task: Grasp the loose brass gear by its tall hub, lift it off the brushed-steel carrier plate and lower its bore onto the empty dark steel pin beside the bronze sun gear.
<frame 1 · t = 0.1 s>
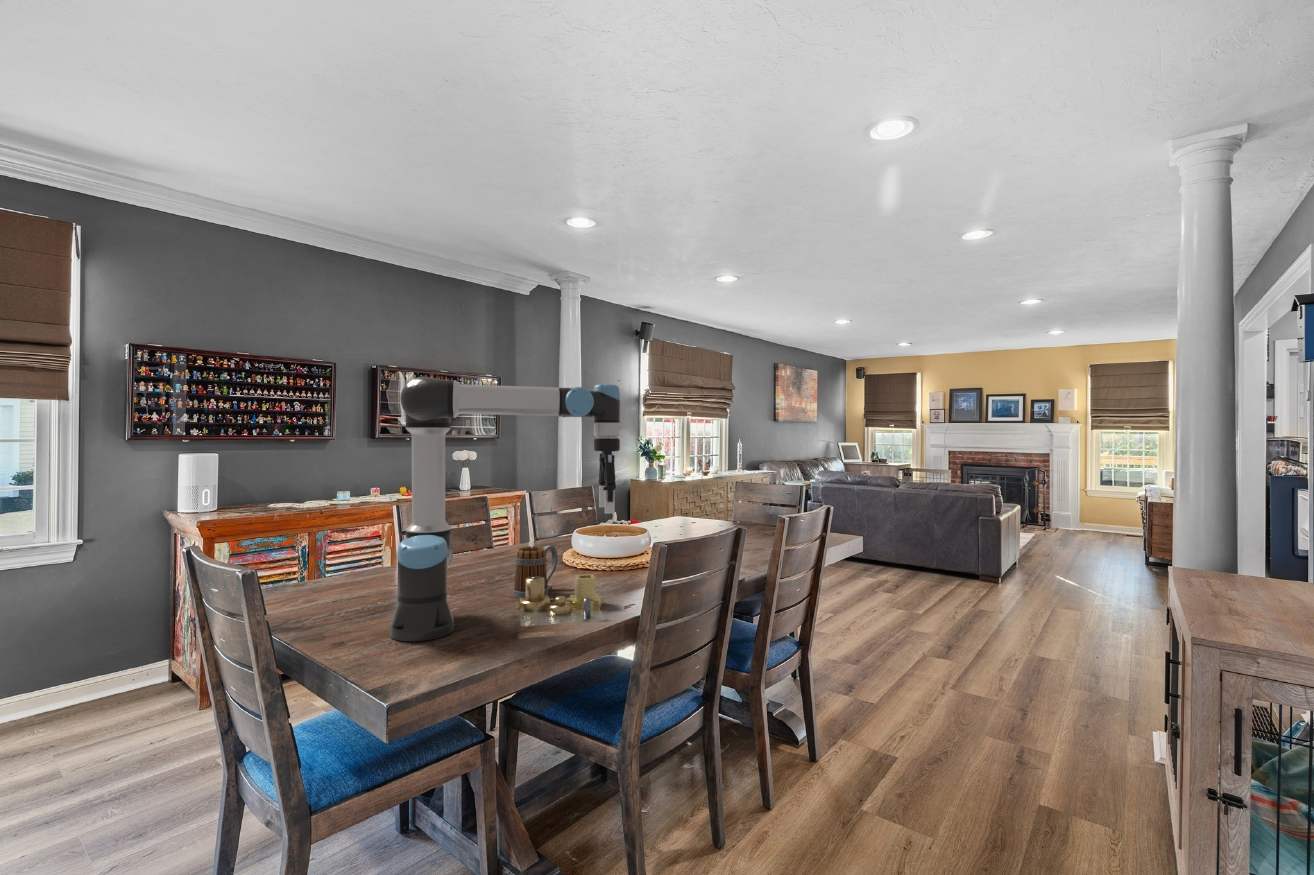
hand: (606, 510, 179), 28 cm above the table, fingers open, 13 cm apart
carrier: (560, 616, 168), on the table
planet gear: (584, 604, 175), point 1 cm above the table, touching carrier
mug: (537, 597, 188), on the table
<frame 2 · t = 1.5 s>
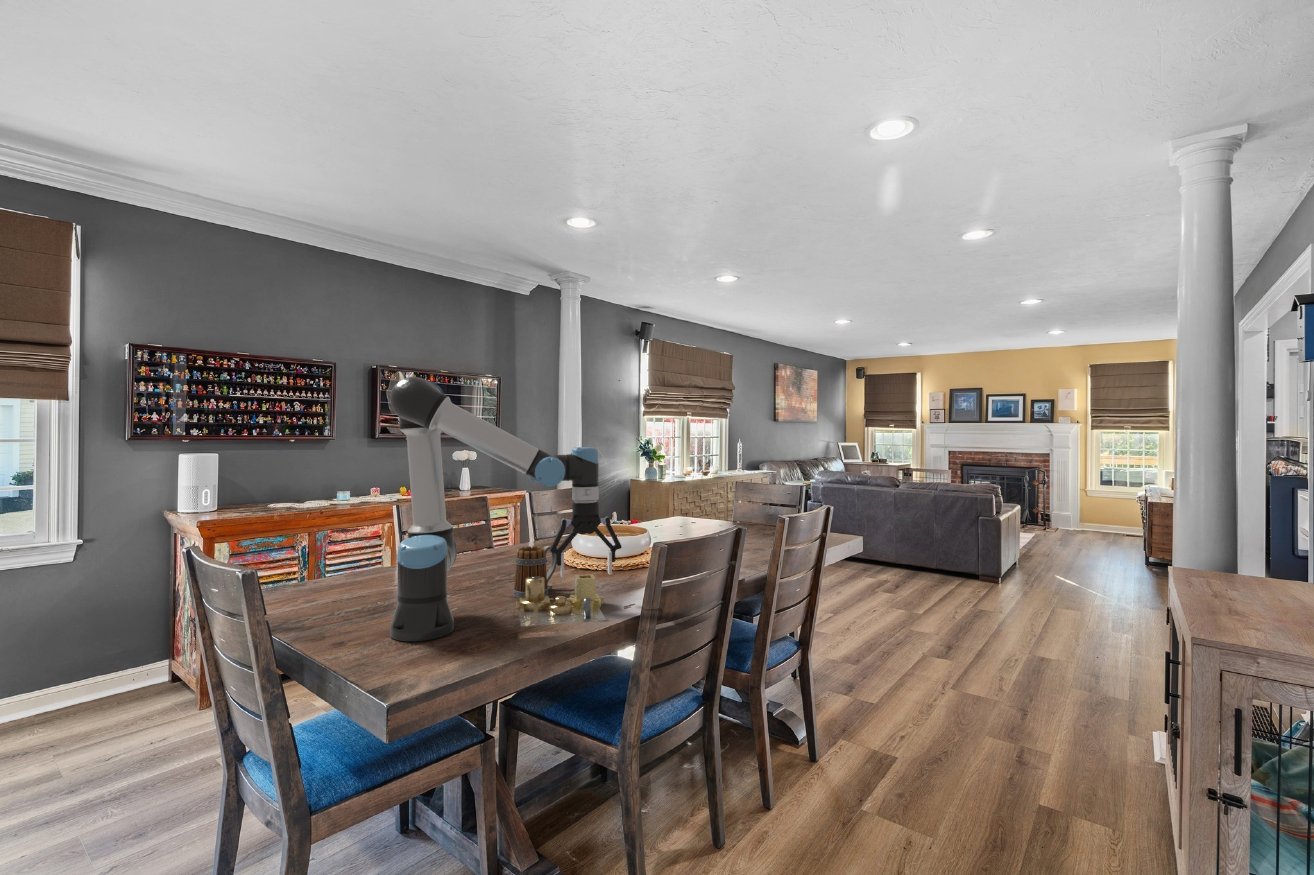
hand: (586, 575, 175), 10 cm above the table, fingers open, 13 cm apart
nothing on the table moved.
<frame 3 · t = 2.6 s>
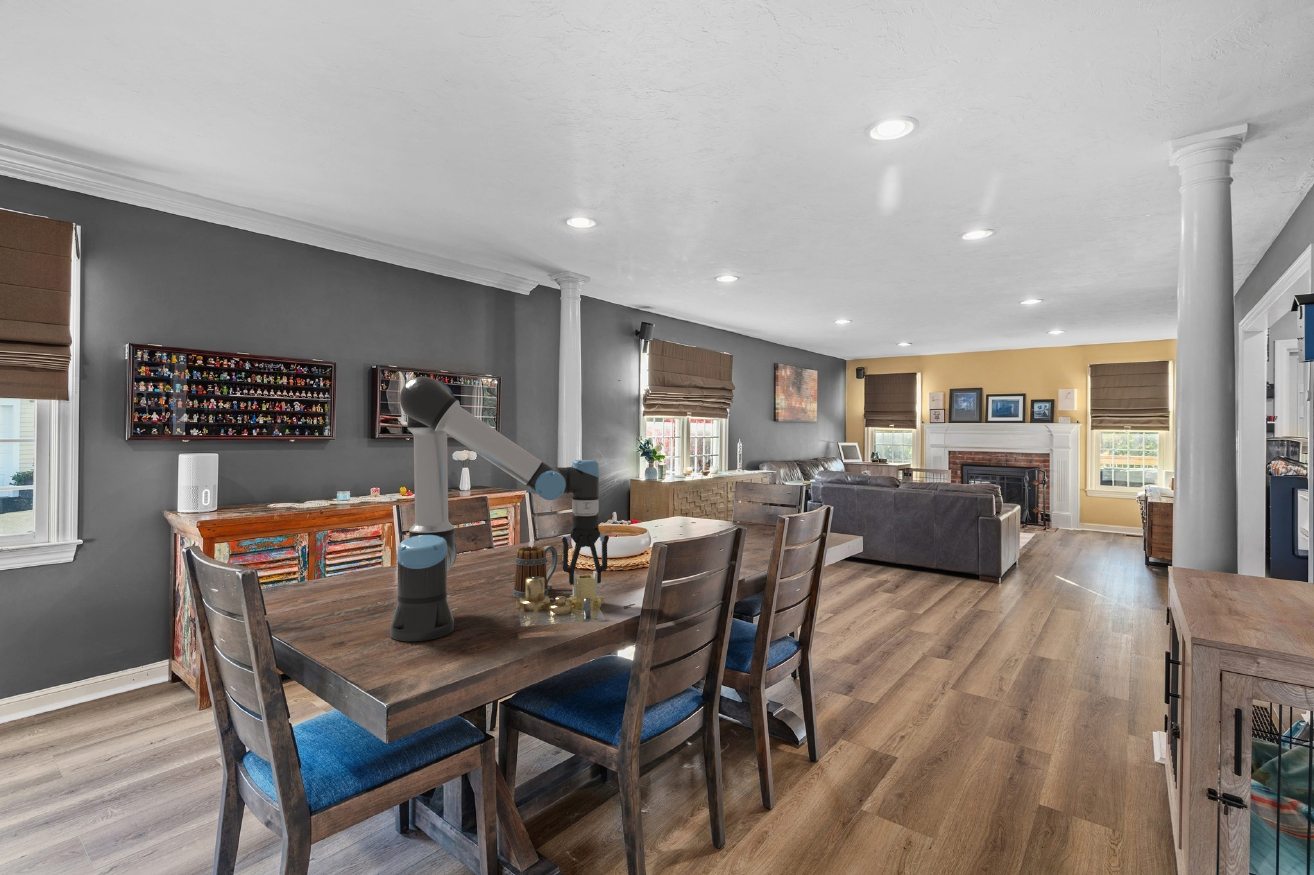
hand: (584, 595, 175), 4 cm above the table, fingers closed on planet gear, 5 cm apart
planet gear: (584, 604, 175), point 1 cm above the table, touching carrier, gripper
everything else where it was.
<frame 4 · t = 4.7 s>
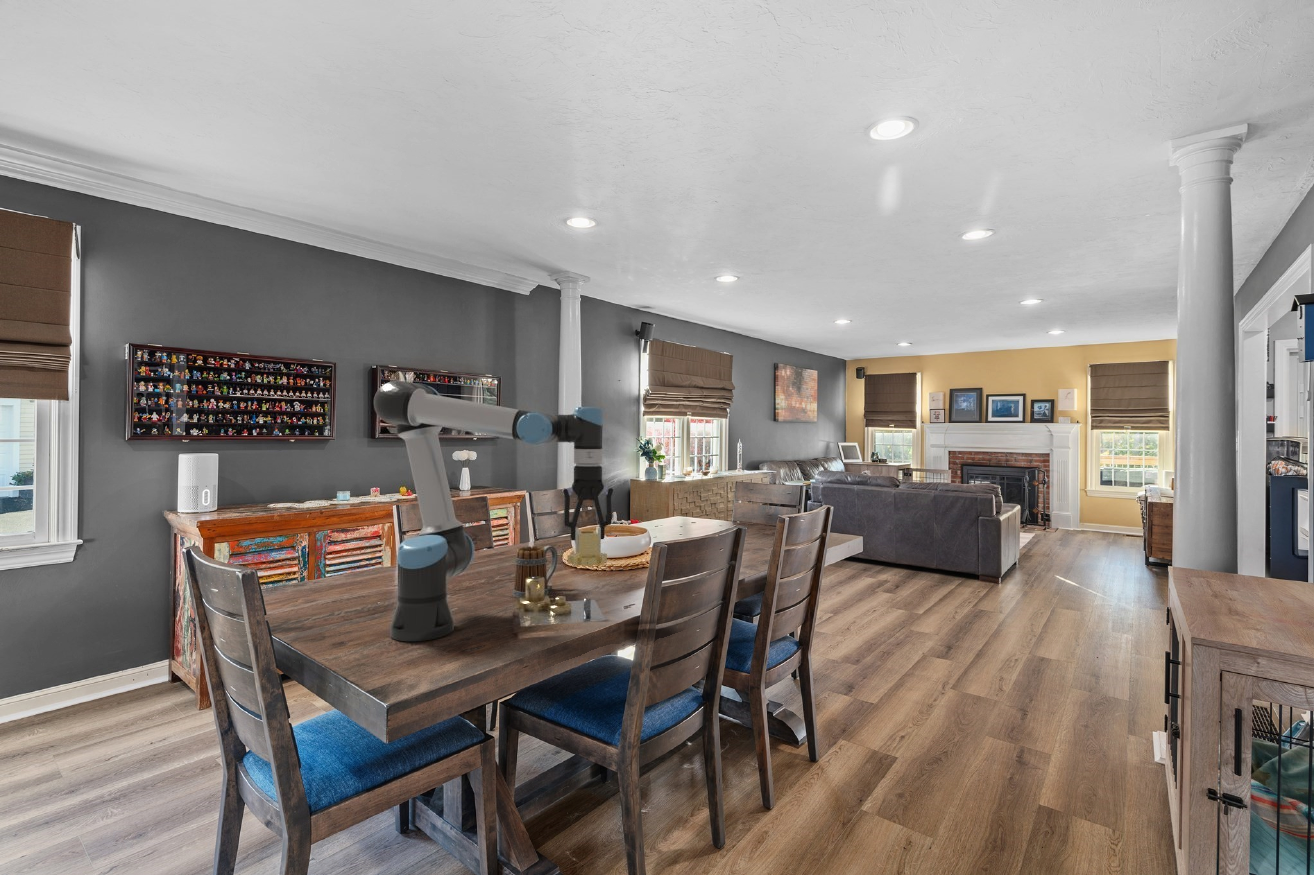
hand: (587, 551, 164), 19 cm above the table, fingers closed on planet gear, 5 cm apart
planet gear: (587, 562, 164), point 16 cm above the table, touching gripper
everything else where it was.
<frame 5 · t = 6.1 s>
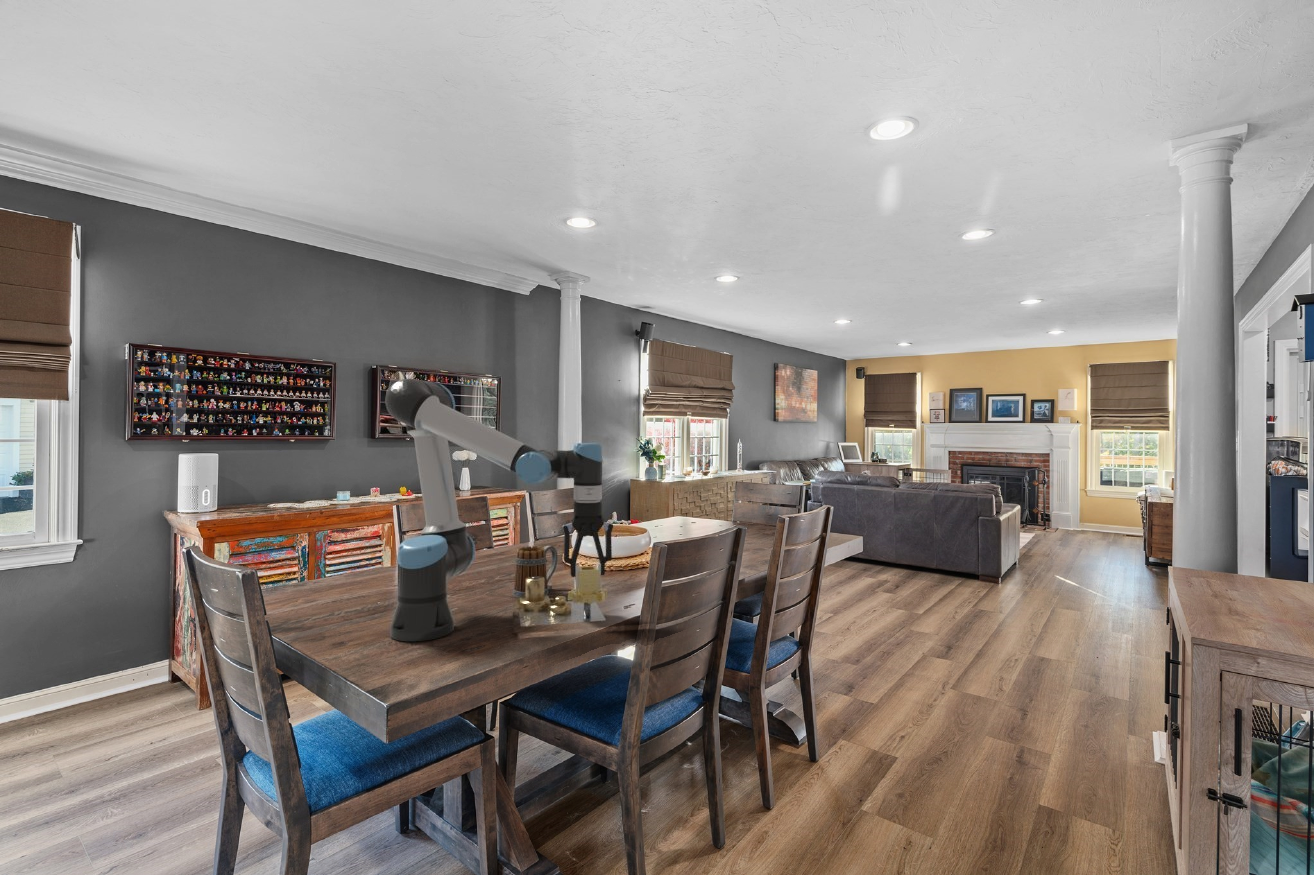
hand: (587, 587, 164), 9 cm above the table, fingers closed on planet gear, 5 cm apart
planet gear: (587, 598, 164), point 6 cm above the table, touching gripper
everything else where it was.
when the fingers open (5 cm above the table, at t = 7.1 s): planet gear drops 1 cm, resting on carrier.
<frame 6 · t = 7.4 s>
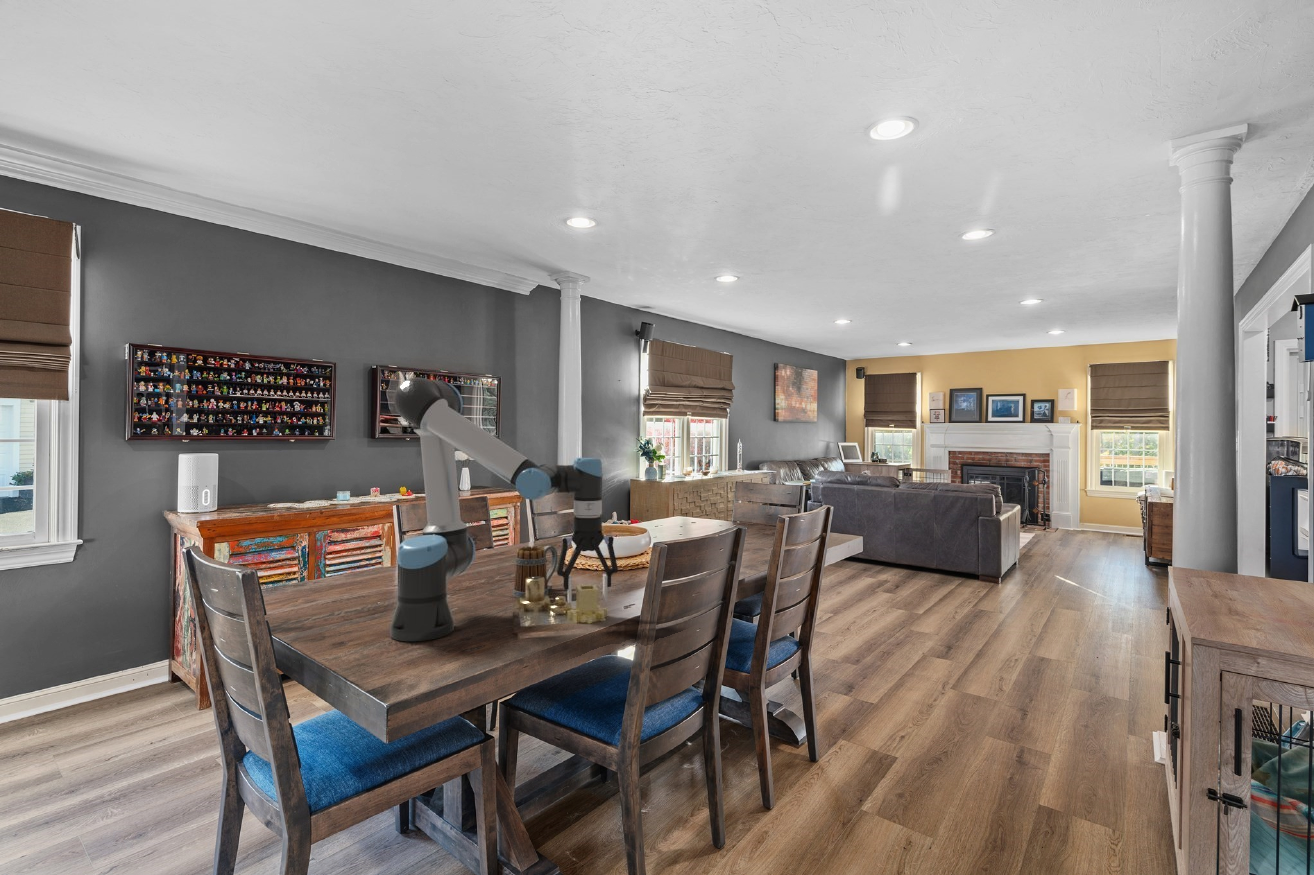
hand: (587, 600, 164), 6 cm above the table, fingers open, 9 cm apart
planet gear: (587, 617, 164), point 1 cm above the table, touching carrier
everything else where it was.
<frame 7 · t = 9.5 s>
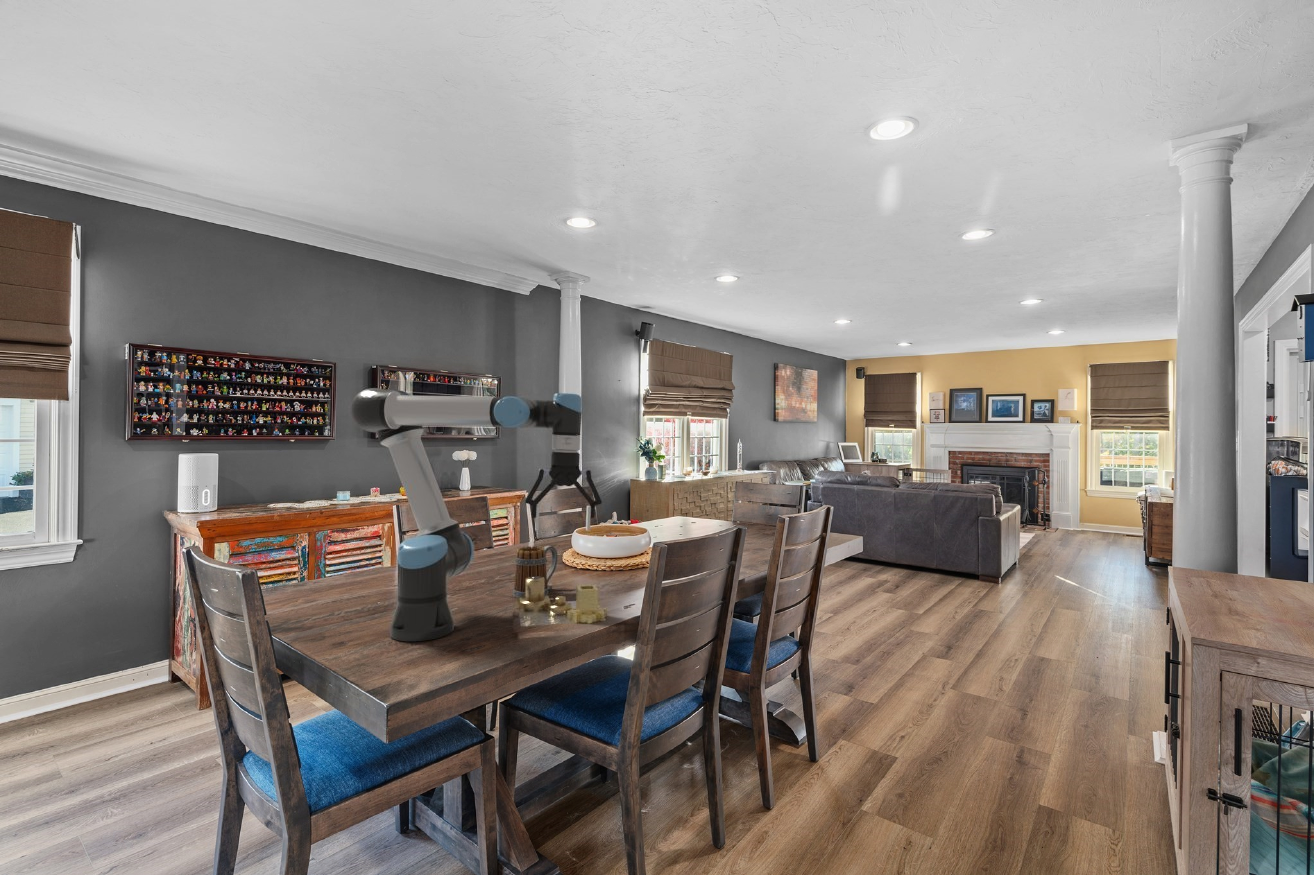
hand: (562, 530, 165), 24 cm above the table, fingers open, 13 cm apart
nothing on the table moved.
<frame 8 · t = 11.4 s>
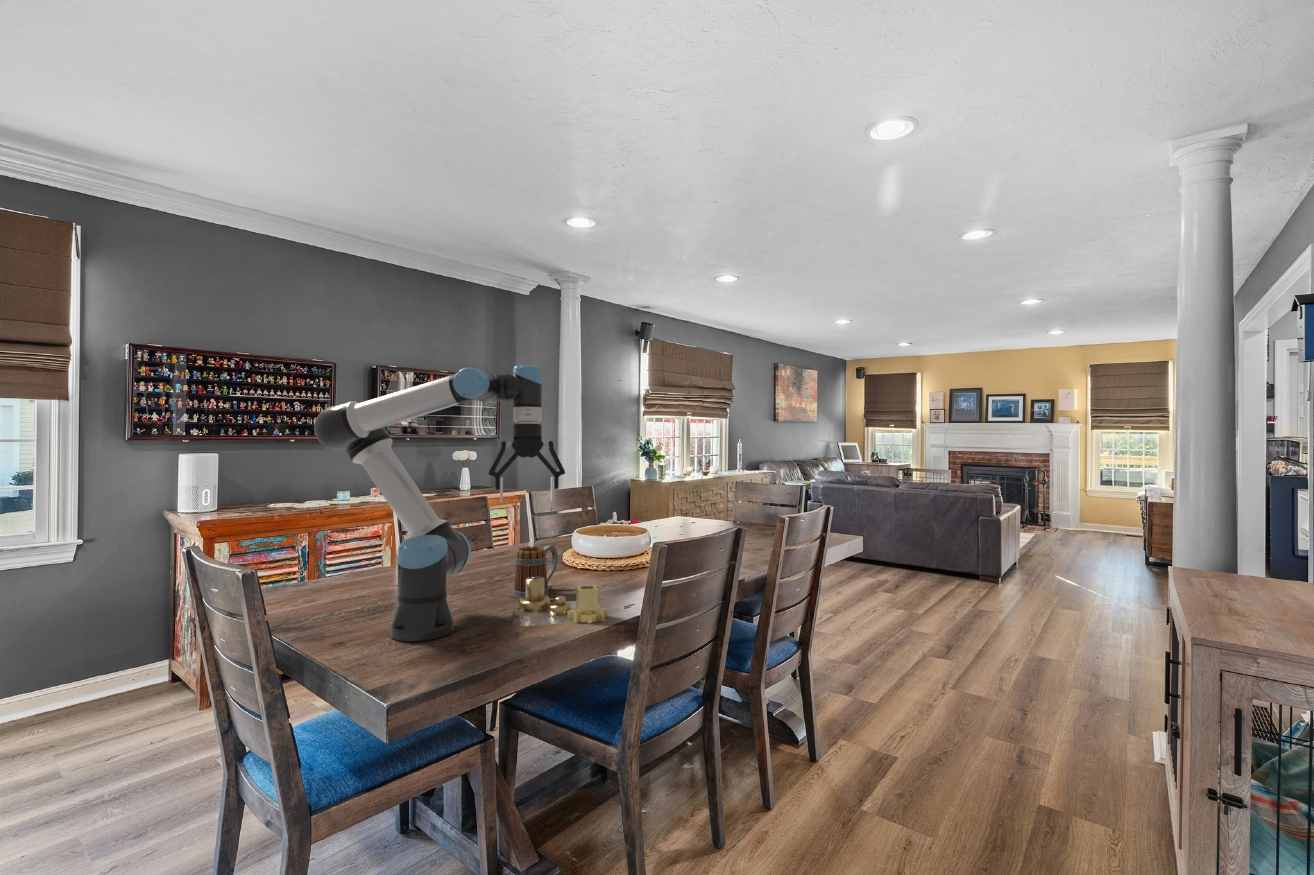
hand: (527, 501, 167), 32 cm above the table, fingers open, 13 cm apart
nothing on the table moved.
at the end: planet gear 0.1 cm from the target spot on the carrier, point 1.2 cm above the carrier's base; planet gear tilted 0°; the gripper is holding nothing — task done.
